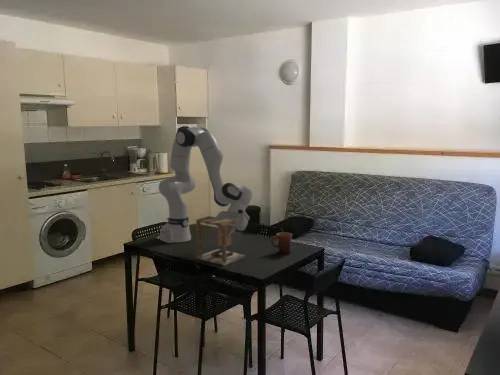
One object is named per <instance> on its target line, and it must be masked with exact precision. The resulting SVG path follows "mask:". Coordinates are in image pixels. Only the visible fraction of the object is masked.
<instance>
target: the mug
mask: <svg viewBox="0 0 500 375" xmlns="http://www.w3.org/2000/svg"><path fill="white" fill-rule="evenodd" d="M274 238H276V239H277V244H274V240H273V239H274ZM292 238H293V233H291V232H286V231H285V232H284V231H283V232H277V233H276V235H273V236H271V237H270V244H271V245H272V247H275V248H277V251H278V252H277V253H279V254H280V255H281V254H282V255H288V254H290V253H291V252H292Z"/></svg>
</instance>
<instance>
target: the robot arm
mask: <svg viewBox="0 0 500 375" xmlns="http://www.w3.org/2000/svg"><path fill="white" fill-rule="evenodd" d="M173 140H174V141H173V144H172V147H171V153H170V154H171V155H170V168H171V170H173V171H174V173H175V174H174V176H173V177H167V178H165V179H162V180H161V181H160V182H159V184H158V191H159V193H160V195H162V196H163V197H164V198H165V200H166V202H167V204H168V213H169V215H168V216H169V217H166V221H167V223H166V224H165V225H164V226H162V227H161V229H160V231H159V232H160V235H157V236H156V240H159V239H160V240H159V241H162V242H165V243H167V244H171V243H172V244H173V243H185V242H189V241H191V240H192V234H191V231H190V225H189V220H190V219H189V215H188V203H187V202H185V201H183V198H182V195H184V194H188V193H190V192H192V191H194V189H195V188H196V181H195V178H193V177H192V175H191V173H190V158H191V153H192V152H191V150H192V149H193V148H195V147H197V148H198V149H199V151H200V153H201V156H202V159H203V161H204V164H205V167H206V170H207V175H208V176H209V180H210V182H211V183H210V184H211V186H212V189H213V201H214V202H215V204H216V205H217V206H220V207H228V206H229V207H228V209H227V210H226V211H223V210H222V211H221V212H219V213H218V214H217V215H216V218H222V219H228V220H234V221H236V223H234V224H231V225H228V226H230V227H231V230H230V231H228V233H227V235H228V236H231V237H232V234H234V232H236V231H242V232H243V231H245V230H246V228H247V226H248V224H249V221H250V219H251V217H250V216H249V215H248V214H247V212H246V209H247V208H248V206H250V203H251V200H252V199H253V191H252V189H250V188H249V187H248V186H246V185H236V184H234V183H232V182H226V183H224V181H223V179H222V176H221V172H220V171H221V166H222V162H223V161H224V160H223V158H224V155H223V152H222V149H221V146H220V145H219V142H218V140H217V139H216V136H215V135H214V133H213V132H211V131H209V130H208V129H207V128H205V127H197V126H196V127H195V126H193V127H187V128H186V127H183V128H181V129H178V130H177V131H176V134H175V139H173ZM215 226H216V227H217V228H218V227H219V226H217V225H215Z"/></svg>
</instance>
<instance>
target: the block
mask: <svg viewBox="0 0 500 375" xmlns="http://www.w3.org/2000/svg"><path fill="white" fill-rule="evenodd" d="M225 229H226V247H228V246H232V235H231V236H228V235H227V233H228V231H230V230H231V227H230V226H225ZM217 245H218V246H220V247H222V228H221V226H219V227H218V226H217Z"/></svg>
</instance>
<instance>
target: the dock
mask: <svg viewBox="0 0 500 375" xmlns="http://www.w3.org/2000/svg"><path fill="white" fill-rule="evenodd" d="M195 221H196V239H197V242H196V243H197V244H196V245H197V258H196V259H198V260H201V261H206V262H209V263H213V264H217V265H221V266H227V265H229V264H231V263H234V262H237V261H239V260H241V259H244V258H245V257H246V254H241V253H238V252H234V251H228V250H227V246H226V229H225V226H228V225H231V224H234V223H236V221H234V220H228V219H222V218H216V217H215V216H209V215H208V216H204V217H200V218H197V219H196V218H195ZM201 224H205V225H213V226H216V225H217V226H216V227H218V226H221V228H222V246H221V248H217V249H215V250H214V249H213V250H211V251H209V252H206V253H203V254H202V231H201V230H202V229H201V228H202V227H201Z"/></svg>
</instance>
